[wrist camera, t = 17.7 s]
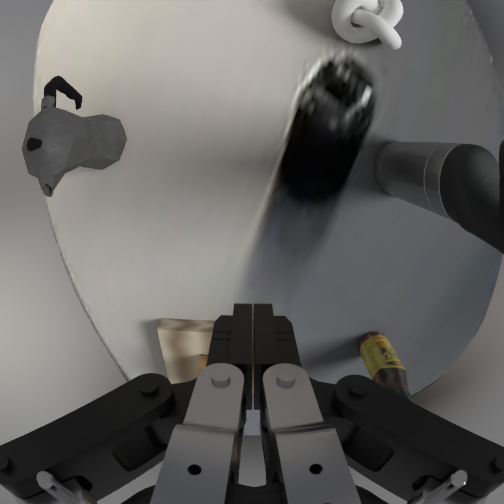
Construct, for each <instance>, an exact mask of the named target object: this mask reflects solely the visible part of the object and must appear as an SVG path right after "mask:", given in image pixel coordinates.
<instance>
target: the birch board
mask: <svg viewBox="0 0 504 504" xmlns="http://www.w3.org/2000/svg"><path fill="white" fill-rule="evenodd" d="M214 322H215V321H201V320H181V319H165V318H162V320H161V322H160V324H159V326H158V328H157V331H158V336H159V341H160V345H161V350H162V354H163V359H164V363H165V367H166V371H167V375H168V379H169V381H170V382H171V384H175V383H182V382H187V381H191V380H193V379H195V375H196V370H197V366H198V361H199V356H200V354H207V355H208V353H209V347H210V342H211V337H212V333H213V326H214ZM252 323H253V322H252ZM252 394H254V388H253V386H252Z"/></svg>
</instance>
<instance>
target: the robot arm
mask: <svg viewBox="0 0 504 504" xmlns="http://www.w3.org/2000/svg"><path fill="white" fill-rule="evenodd" d="M375 175H376V179H377V181H378V183H379V185H380V187H381V188H382V189H383V190H384V191H385V192H386V193H388V194H389V195H392V196H395V197H397V198H400V199H402V200H405V201H407V202H410V203H412V204H415V205H417V206H420V207H422V208H424V209H427V210H429V211H432V212H434V213H436V214H439V215H441V216H443V217H446V218H448V219H450V220H452V221H455V222H457V223H459V225H460V226H461V227H462V228H463V229H465V230H466V231H468V232H470V233H472V234H473V235H475V236H477V237H478V238H480V239H482V240H483V241H485V242H487V243H488V244H490V245H491V246H493V247H494V248H496V249H497V250H499V251H500V252H501V253H503V254H504V140H503V141H502V143H501V145H500V150H499V165H498V163H497V161H496V159H495V158H494V156H493V155H492V154H491V153H490V152H489V151H488V150H487V149H485V148H483V147H481V146H478V145H472V144H459V143H438V142H391V143H388V144H387V145H385V146H384V147H383V148H382V149H381V150H380V151H379V153H378V155H377V157H376V161H375ZM252 386H253V388H254V410H260V434H261V441H262V449H263V456H264V463H265V472H266V485H263V486H259V487H250V486H245V485H241V484H239V469H240V460H241V452H242V443H243V435H244V425H245V423H246V410H252ZM161 461H163V463H162V467H161V469H160V473H159V476H158V479H157V482H156V485H153V486H151V487H148V488H145V489H144V490H142V491H139V492H138V493H136V494H135V495H133V496H132V497H130V498H129V499H127V500H126V501H124V502H123V503H121V504H388V503H387V502H385V501H383V500H382V499H380V498H379V497H377V496H376V495H374V494H373V493H371V492H370V491H368V490H366V489H364V488H362V487H359V486H357V485H355V484H354V481H353V478H352V475H351V472H350V469H349V466H350V467H351V468H353V469H354V470H356V471H357V472H359V473H360V474H362V475H364V476H365V477H367V478H368V479H370V480H371V481H373V482H375V483H376V484H378V485H380V486H381V487H383V488H385V489H387V490H388V491H390V492H391V493H393V494H395V495H397V496H399V497H400V498H402V499H404V500H406V501H407V504H484V502H485V500H486V498H487V496H488V495H489V494H490V493H491V492H492V491H494V490H495V489H496V488H498V487H499V486H500V485H502V484H503V483H504V447H503V446H500V445H498V444H496V443H494V442H492V441H489V440H487V439H485V438H483V437H481V436H478V435H476V434H474V433H472V432H470V431H468V430H466V429H464V428H462V427H460V426H457V425H455V424H453V423H451V422H449V421H447V420H445V419H443V418H441V417H439V416H438V415H436V414H433V413H431V412H430V411H428V410H426V409H424V408H422V407H420V406H418V405H416V404H415V403H413V402H411V401H409V400H407V399H405V398H403V397H402V396H400V395H398V394H396V393H394V392H392V391H391V390H389V389H387V388H385V387H383V386H382V385H380V384H378V383H376V382H375V381H373V380H371V379H369V378H367V377H365V376H361V375H348V376H345V377H343V378H341V379H340V380H339V381H338V382H337V384H330V383H324V382H319V381H316V380H314V379H312V378H310V377H309V376H308V374H307V373H306V371H305V370H303V369H302V367H301V363H300V358H299V354H298V349H297V345H296V340H295V335H294V331H293V326H292V323H291V322H290V321H289V320H288V319H287V318H286V316H273V308H272V304H254V313H253V323H252V304H237V303H234V311H233V316H227V315H221V316H220V317H219V318H218V319H217V320H216V321H215V322H214V326H213V333H212V337H211V342H210V347H209V353H208V358H207V364H206V367H205V368H203V369H202V370H201V371H200V373H199V375H198V377H197V378H195V379H193V380H191V381H187V382H182V383H175V384H171V382H170V381H169V380H168V379H167V378H166V377H165V376H162V375H160V374H155V373H148V374H143V375H140V376H138V377H136V378H134V379H132V380H131V381H129V382H127V383H125V384H123V385H122V386H120V387H118V388H116V389H114V390H113V391H111V392H109V393H107V394H105V395H103V396H101V397H100V398H98V399H96V400H94V401H92V402H90V403H88V404H87V405H84V406H83V407H81V408H79V409H77V410H75V411H73V412H71V413H69V414H67V415H65V416H63V417H61V418H59V419H57V420H55V421H53V422H51V423H49V424H47V425H45V426H43V427H40V428H38V429H36V430H34V431H32V432H30V433H28V434H26V435H24V436H21V437H19V438H17V439H14V440H12V441H10V442H8V443H5V444H3V445H1V446H0V484H1V485H2V486H3V487H4V488H6V489H7V490H8V491H10V493H12V495H14V497H15V498H16V500H17V502H18V504H97V501H98V500H100V499H102V498H104V497H105V496H107V495H109V494H111V493H112V492H114V491H116V490H118V489H119V488H121V487H123V486H124V485H126V484H128V483H129V482H131V481H132V480H134V479H136V478H137V477H139V476H140V475H142V474H143V473H145V472H146V471H148V470H149V469H151V468H152V467H154V466H155V465H157V464H158V463H160V462H161Z"/></svg>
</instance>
